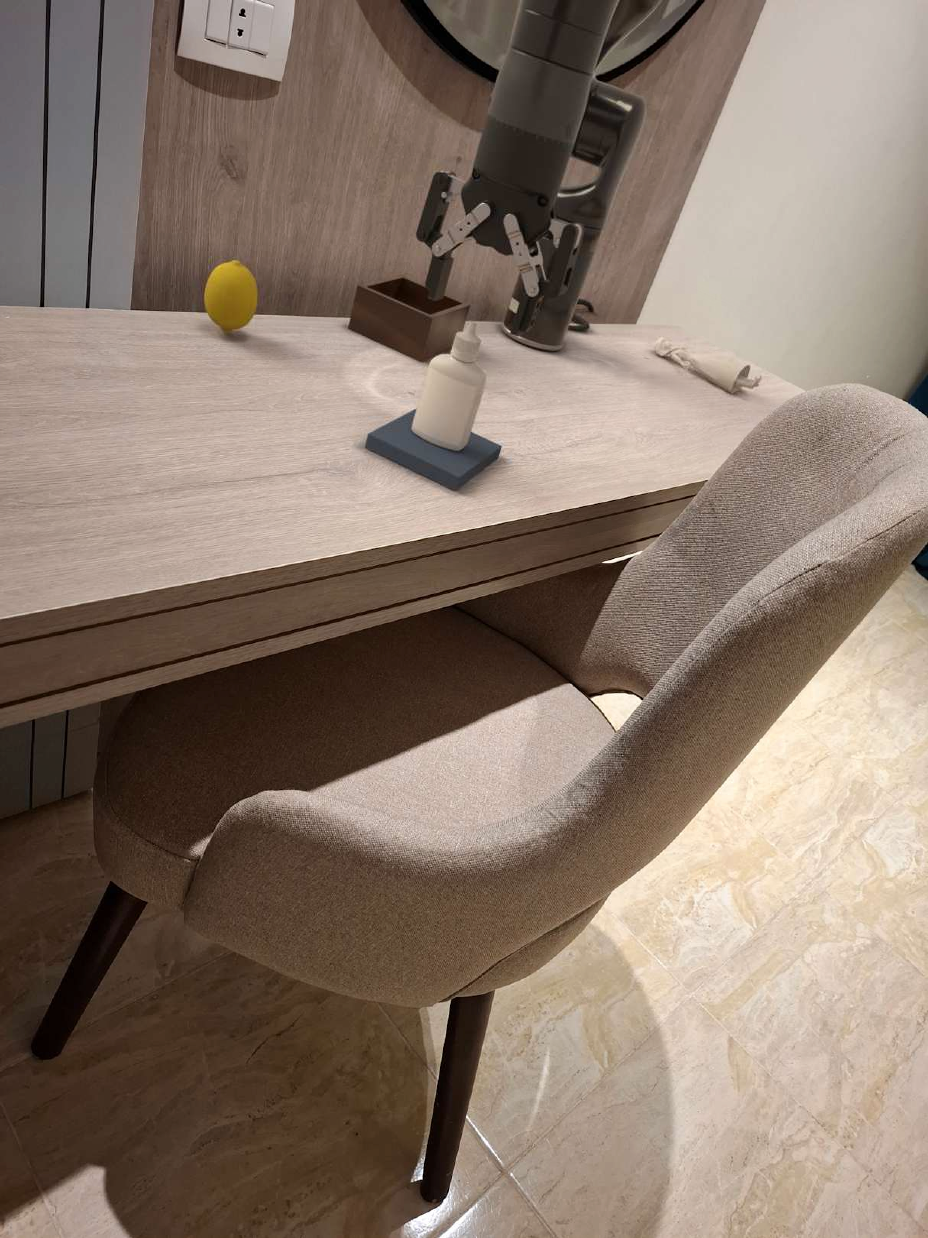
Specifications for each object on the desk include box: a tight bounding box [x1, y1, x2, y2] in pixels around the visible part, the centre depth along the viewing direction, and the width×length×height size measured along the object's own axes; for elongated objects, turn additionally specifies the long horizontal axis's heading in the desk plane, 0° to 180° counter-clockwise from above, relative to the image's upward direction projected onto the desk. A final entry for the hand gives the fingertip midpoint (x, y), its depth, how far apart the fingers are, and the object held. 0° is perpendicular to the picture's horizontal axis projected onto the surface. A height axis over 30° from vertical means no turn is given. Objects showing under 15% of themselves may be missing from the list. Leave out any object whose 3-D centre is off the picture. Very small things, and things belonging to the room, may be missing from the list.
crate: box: [347, 274, 471, 362], centre depth 115 cm, size 12×11×6 cm
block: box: [364, 407, 503, 492], centre depth 90 cm, size 11×10×2 cm
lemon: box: [203, 259, 259, 334], centre depth 98 cm, size 6×6×8 cm
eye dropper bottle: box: [412, 320, 488, 451], centre depth 86 cm, size 4×6×12 cm
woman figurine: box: [653, 337, 762, 394], centre depth 143 cm, size 12×4×18 cm
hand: (475, 315), depth 83 cm, fingers open, 8 cm apart
